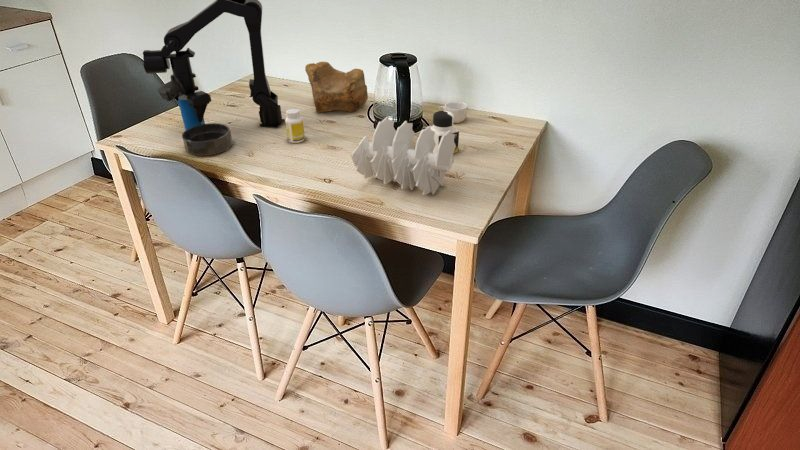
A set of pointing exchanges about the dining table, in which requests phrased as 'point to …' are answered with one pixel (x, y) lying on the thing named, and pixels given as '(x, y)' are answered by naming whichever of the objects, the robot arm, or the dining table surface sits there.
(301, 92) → the dining table surface
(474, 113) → the dining table surface
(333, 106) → the rough brown rock
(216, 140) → the dark grey bowl
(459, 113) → the teacup
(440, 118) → the medicine bottle
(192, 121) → the beverage can
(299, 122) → the supplement bottle
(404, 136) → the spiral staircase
